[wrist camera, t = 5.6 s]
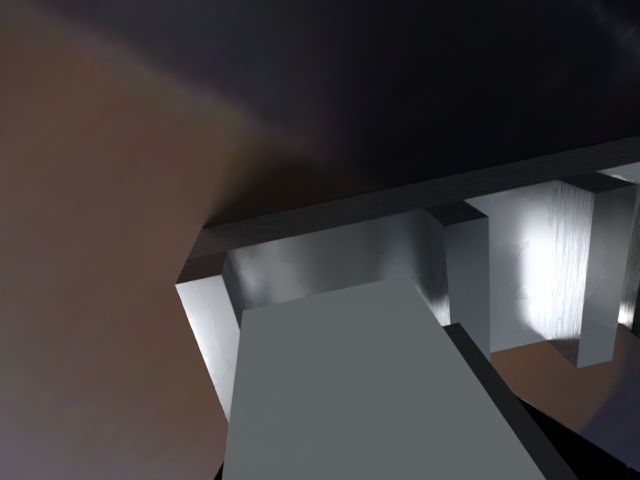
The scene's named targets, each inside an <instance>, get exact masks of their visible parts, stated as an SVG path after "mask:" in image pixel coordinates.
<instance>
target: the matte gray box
mask: <svg viewBox="0 0 640 480" xmlns="http://www.w3.org/2000/svg"><path fill="white" fill-rule="evenodd" d="M222 480H579V479H578V478H577V477H576V475H575V474H574V473H573V471H572V470H571V469H570V467H569V466H568V465H567V463H566V462H565V461H564V459H563V458H562V457H561V456H560V454H559V453H558V452H557V450H556V449H555V448H554V446H553V445H552V444H551V442H550V441H549V440H548V438H547V437H546V436H545V434H544V433H543V432H542V431H541V429H540V428H539V427H538V425H537V424H536V423H535V421H534V420H533V419H532V417H531V416H530V415H529V413H528V412H527V411H526V409H525V408H524V407H523V406H522V404H521V403H520V402H519V400H518V399H517V398H516V396H515V395H514V394H513V392H512V391H511V390H510V388H509V387H508V386H507V385H506V383H505V382H504V381H503V379H502V378H501V377H500V375H499V374H498V373H497V371H496V370H495V369H494V367H493V366H492V365H491V363H490V362H489V361H488V360H487V358H486V357H485V356H484V354H483V353H482V352H481V350H480V349H479V348H478V346H477V345H476V344H475V342H474V341H473V340H472V338H471V337H470V336H469V335H468V333H467V332H466V331H465V329H464V328H463V327H462V325H461V324H460V323H459V322H458V323H454V324H449V325H445V326H441V324H440V323H439V321H438V320H437V318H436V317H435V315H434V314H433V312H432V311H431V310H430V308H429V307H428V305H427V304H426V302H425V301H424V299H423V298H422V296H421V295H420V293H419V292H418V290H417V289H416V287H415V286H414V285H413V283H412V282H411V280H410V279H409V277H408V276H407V275H403V276H399V277H394V278H390V279H385V280H381V281H376V282H372V283H367V284H362V285H358V286H353V287H349V288H344V289H340V290H335V291H331V292H326V293H321V294H317V295H312V296H308V297H303V298H299V299H294V300H289V301H285V302H280V303H276V304H271V305H267V306H262V307H258V308H253V309H248V310H244V311H243V314H242V322H241V330H240V338H239V346H238V354H237V362H236V370H235V378H234V386H233V394H232V402H231V410H230V418H229V426H228V434H227V442H226V450H225V458H224V466H223V474H222Z"/></svg>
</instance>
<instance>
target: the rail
mask: <svg viewBox="0 0 640 480" xmlns="http://www.w3.org/2000/svg"><path fill="white" fill-rule="evenodd" d="M403 275H407V276H408V277H409V279H410V280H411V282H412V283H413V285H414V286H415V287H416V289H417V290H418V292H419V293H420V295H421V296H422V298H423V299H424V301H425V302H426V304H427V305H428V307H429V308H430V310H431V311H432V312H433V314H434V315H435V317H436V318H437V320H438V321H439V323H440V324H441V326H445V325H449V324H454V323H458V322H459V323H460V324H461V325H462V327H463V328H464V329H465V331H466V332H467V333H468V335H469V336H470V337H471V338H472V340H473V341H474V342H475V344H476V345H477V346H478V348H479V349H480V350H481V352H482V353H483V354H484V356H485V357H486V358H487V360H488V361H489V362H490V353H492V352H496V351H500V350H505V349H509V348H513V347H518V346H522V345H527V344H531V343H535V342H540V341H544V340H548V341H549V342H550V343H551V344H552V345H553V346H554V347H555V348H556V349H557V350H558V351H559V352H560V353H561V354H562V355H563V356H564V357H565V358H566V359H567V360H569V361H570V362H571V363H572V364H573V365H574V366H575V367H576V368H581V367H585V366H589V365H594V364H598V363H602V362H607V361H611V360H612V357H613V350H614V343H615V337H616V330H617V324H619V323H622V324H624V325H625V326H627V327H628V328H629V329H631V333H633V334H634V335H635V336H637V337H638V338H640V135H638V136H634V137H629V138H624V139H620V140H615V141H610V142H605V143H601V144H596V145H591V146H587V147H582V148H577V149H573V150H568V151H563V152H559V153H554V154H549V155H544V156H540V157H535V158H530V159H526V160H521V161H516V162H512V163H507V164H502V165H498V166H493V167H488V168H483V169H479V170H474V171H469V172H465V173H460V174H455V175H451V176H446V177H441V178H437V179H432V180H427V181H422V182H418V183H413V184H408V185H404V186H399V187H394V188H390V189H385V190H380V191H376V192H371V193H366V194H361V195H357V196H352V197H347V198H343V199H338V200H333V201H329V202H324V203H319V204H315V205H310V206H305V207H300V208H296V209H291V210H286V211H282V212H277V213H272V214H268V215H263V216H258V217H254V218H249V219H244V220H239V221H235V222H230V223H225V224H221V225H216V226H211V227H207V228H202V229H201V230H200V233H199V235H198V237H197V239H196V241H195V243H194V246H193V248H192V250H191V252H190V254H189V256H188V258H187V261H186V263H185V265H184V267H183V269H182V271H181V273H180V276H179V278H178V280H177V282H176V284H175V285H176V288H177V291H178V293H179V296H180V298H181V301H182V303H183V306H184V309H185V311H186V314H187V316H188V319H189V322H190V324H191V327H192V329H193V332H194V335H195V337H196V340H197V342H198V345H199V348H200V350H201V353H202V355H203V358H204V360H205V363H206V366H207V368H208V371H209V373H210V376H211V379H212V381H213V384H214V386H215V389H216V392H217V394H218V397H219V399H220V402H221V404H222V407H223V410H224V412H225V415H226V417H227V420H228V423H229V418H230V410H231V402H232V394H233V386H234V378H235V370H236V362H237V354H238V346H239V338H240V330H241V322H242V314H243V311H244V310H248V309H253V308H258V307H262V306H267V305H271V304H276V303H280V302H285V301H289V300H294V299H299V298H303V297H308V296H312V295H317V294H321V293H326V292H331V291H335V290H340V289H344V288H349V287H353V286H358V285H362V284H367V283H372V282H376V281H381V280H385V279H390V278H394V277H399V276H403Z"/></svg>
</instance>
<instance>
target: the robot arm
mask: <svg viewBox="0 0 640 480" xmlns="http://www.w3.org/2000/svg"><path fill="white" fill-rule="evenodd" d="M513 394H514V393H513ZM514 395H515V394H514ZM515 396H516V398H517V399H518V400H519V402H520V403H521V404H522V406H523V407H524V408H525V409H526V411H527V412H528V413H529V415H530V416H531V417H532V419H533V420H534V421H535V423H536V424H537V425H538V427H539V428H540V429H541V431H542V432H543V433H544V434H545V436H546V437H547V438H548V440H549V441H550V442H551V444H552V445H553V446H554V448H555V449H556V450H557V452H558V453H559V454H560V456H561V457H562V458H563V459H564V461H565V462H566V463H567V465H568V466H569V467H570V469H571V470H572V471H573V473H574V474H575V475H576V477H577V478H578V479H579V480H640V473H639V472H638V471H636V470H635V469H633V468H631V467H629V468H628V467H627V465H626V464H625V463H623V462H622V461H620V460H618V459H617V458H615V457H614V456H612V455H610V454H609V453H607V452H606V451H604V450H603V449H601V448H599V447H598V446H596V445H595V444H593V443H591V442H590V441H588V440H587V439H585V438H584V437H582V436H580V435H579V434H577V433H576V432H574V431H572V430H571V429H569V428H568V427H566V426H565V425H563V424H561V423H560V422H558V421H557V420H555V419H553V418H552V417H550V416H549V415H547V414H546V413H544V412H542V411H541V410H539V409H538V408H536V407H534V406H533V405H531V404H530V403H528V402H527V401H525V400H523V399H522V398H520V397H519V396H517V395H515ZM223 466H224V462H223V463H222V465H221V467H220V469H219V471H218V473H217V474H216V476H215V478H214V480H222V474H223Z"/></svg>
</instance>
